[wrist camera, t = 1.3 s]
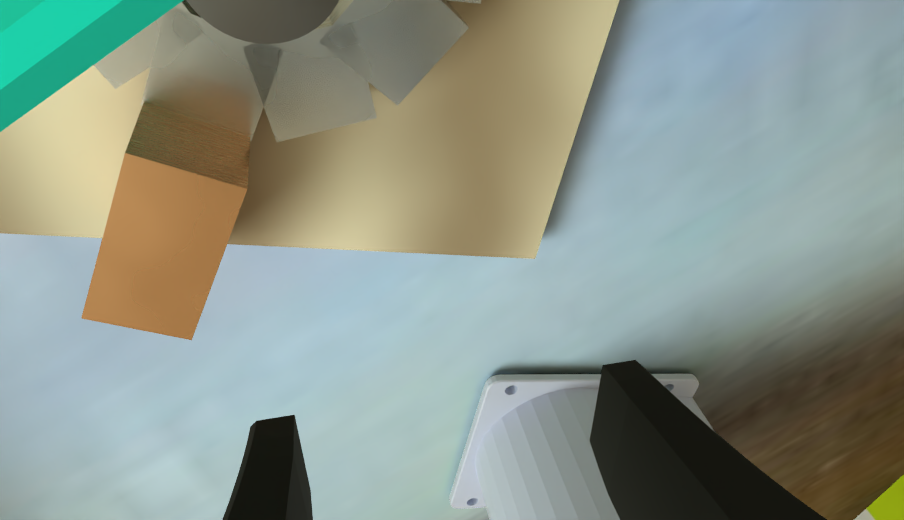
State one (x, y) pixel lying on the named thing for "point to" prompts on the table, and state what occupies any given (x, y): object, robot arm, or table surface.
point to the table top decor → (61, 44)
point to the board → (352, 140)
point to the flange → (234, 137)
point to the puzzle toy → (887, 504)
